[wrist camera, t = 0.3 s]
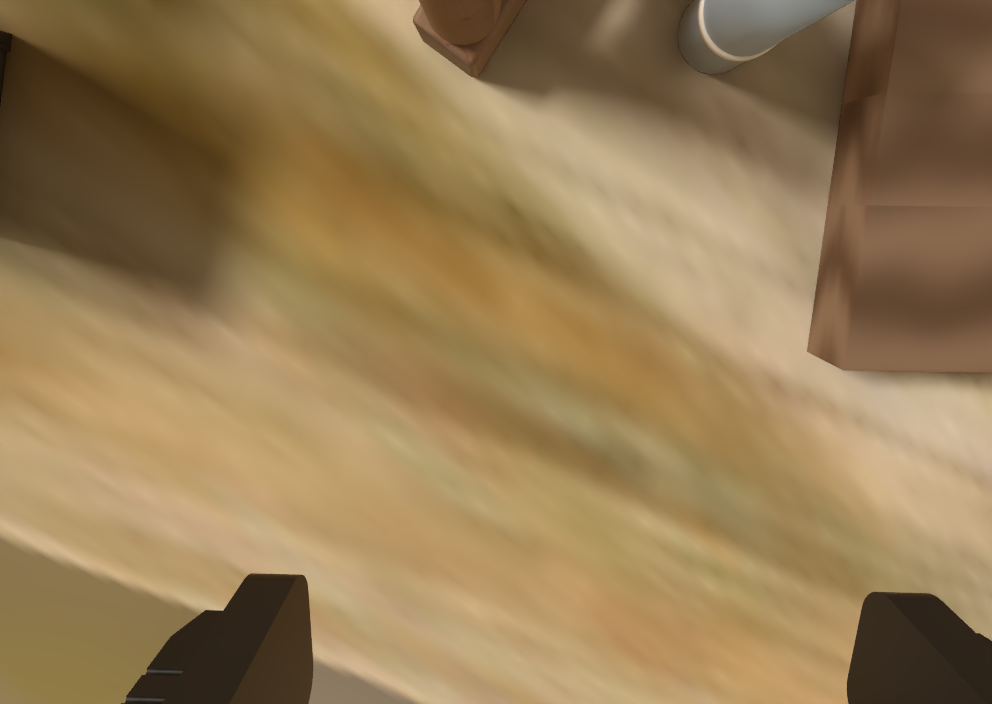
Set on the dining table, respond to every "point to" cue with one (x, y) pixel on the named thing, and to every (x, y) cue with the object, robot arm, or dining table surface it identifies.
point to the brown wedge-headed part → (466, 29)
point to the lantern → (3, 54)
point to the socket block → (911, 194)
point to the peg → (743, 29)
